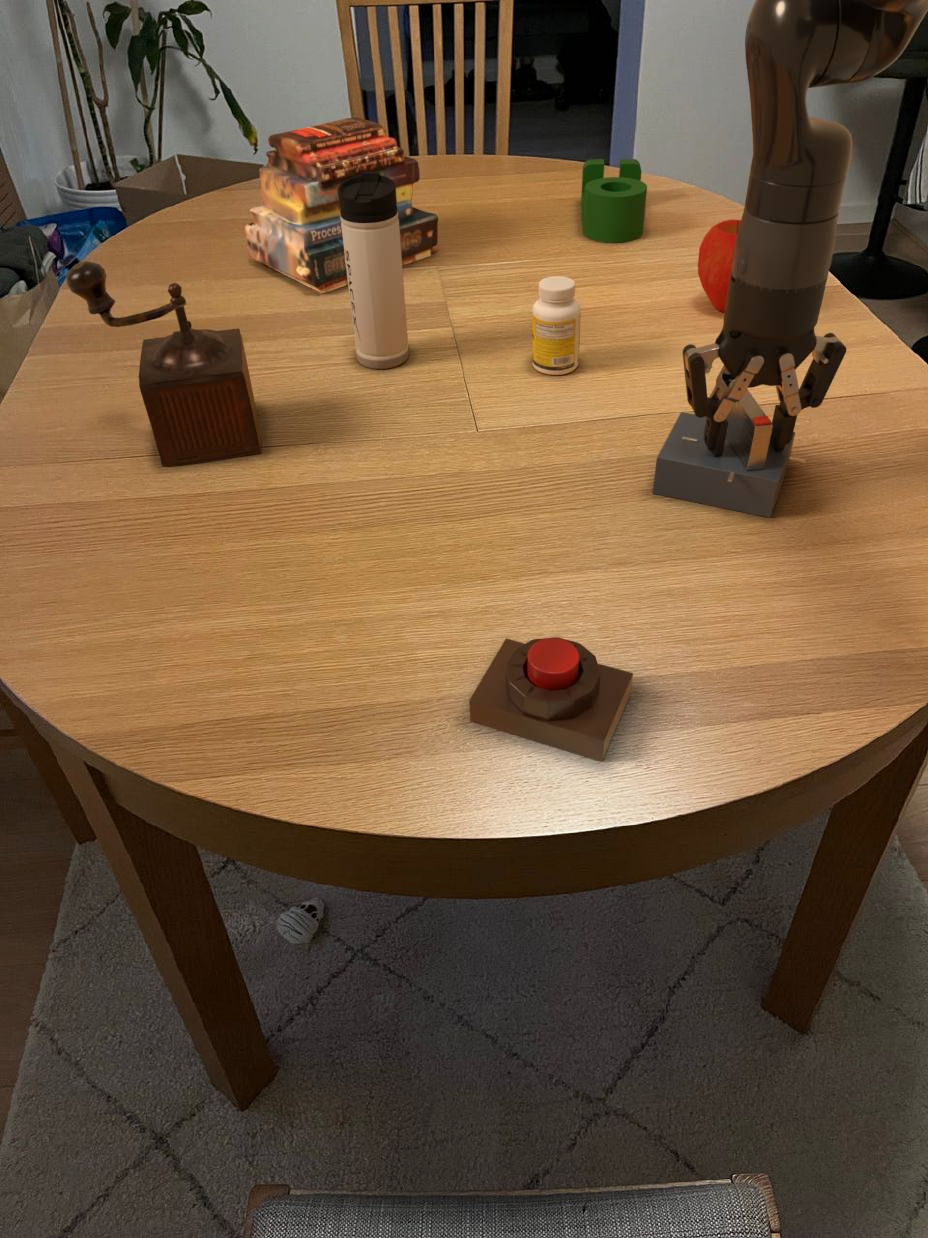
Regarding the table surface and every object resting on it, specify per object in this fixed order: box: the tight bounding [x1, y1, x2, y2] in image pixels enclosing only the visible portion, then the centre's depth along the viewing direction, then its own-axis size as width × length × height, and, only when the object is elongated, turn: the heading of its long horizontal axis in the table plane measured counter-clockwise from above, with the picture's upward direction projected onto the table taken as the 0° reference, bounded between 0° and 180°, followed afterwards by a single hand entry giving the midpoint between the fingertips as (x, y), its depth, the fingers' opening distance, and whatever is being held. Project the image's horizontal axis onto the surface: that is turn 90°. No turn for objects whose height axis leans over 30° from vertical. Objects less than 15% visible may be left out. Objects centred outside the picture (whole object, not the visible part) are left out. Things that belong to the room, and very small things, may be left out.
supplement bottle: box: [531, 275, 582, 376], centre depth 105 cm, size 5×5×10 cm
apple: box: [697, 219, 741, 313], centre depth 115 cm, size 9×8×11 cm
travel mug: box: [338, 172, 410, 370], centre depth 105 cm, size 6×7×20 cm
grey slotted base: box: [652, 411, 806, 519], centre depth 88 cm, size 13×11×4 cm
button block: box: [468, 636, 634, 762], centre depth 67 cm, size 10×7×4 cm
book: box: [244, 116, 439, 294], centre depth 130 cm, size 23×18×17 cm
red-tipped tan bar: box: [726, 388, 773, 470], centre depth 84 cm, size 7×2×5 cm, turn 6°
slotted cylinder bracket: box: [580, 158, 648, 244], centre depth 141 cm, size 18×9×6 cm, turn 176°
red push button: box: [527, 637, 579, 691], centre depth 65 cm, size 4×4×2 cm
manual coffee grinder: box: [65, 260, 263, 467], centre depth 93 cm, size 16×11×18 cm
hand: (745, 448), depth 86 cm, fingers open, 5 cm apart
